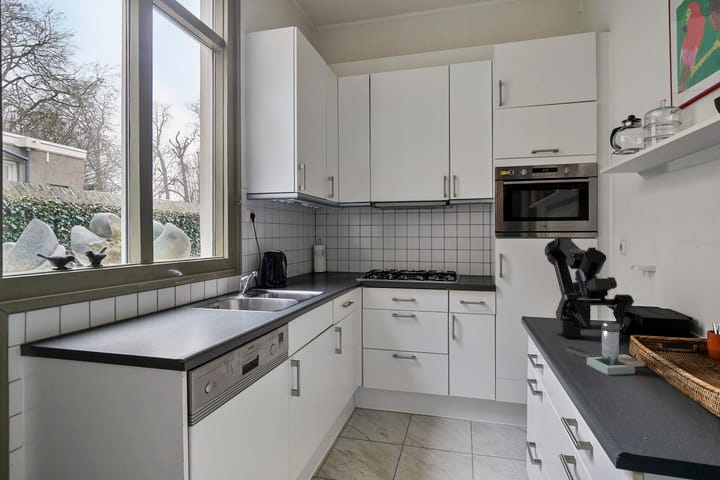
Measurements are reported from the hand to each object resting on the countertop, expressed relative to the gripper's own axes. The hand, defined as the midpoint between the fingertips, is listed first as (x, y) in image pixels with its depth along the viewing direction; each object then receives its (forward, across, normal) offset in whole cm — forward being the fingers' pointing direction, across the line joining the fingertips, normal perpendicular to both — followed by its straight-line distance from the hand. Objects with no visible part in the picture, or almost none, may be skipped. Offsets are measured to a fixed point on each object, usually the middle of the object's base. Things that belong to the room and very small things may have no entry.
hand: (604, 326), depth 109 cm
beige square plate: (+6, +6, +9) cm, 13 cm away
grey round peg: (+10, 0, +5) cm, 12 cm away
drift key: (+2, -4, +13) cm, 14 cm away
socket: (+10, 0, +5) cm, 12 cm away
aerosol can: (-22, +8, +38) cm, 45 cm away
